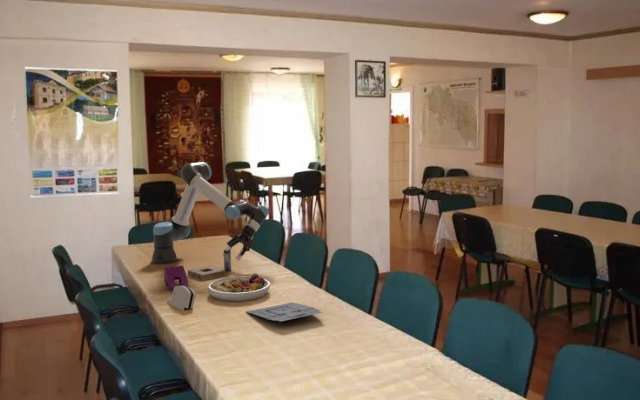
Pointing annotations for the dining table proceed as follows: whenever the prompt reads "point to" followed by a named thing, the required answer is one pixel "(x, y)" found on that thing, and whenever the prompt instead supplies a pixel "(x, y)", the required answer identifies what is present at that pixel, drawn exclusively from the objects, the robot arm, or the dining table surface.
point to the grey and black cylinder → (227, 260)
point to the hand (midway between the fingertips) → (230, 257)
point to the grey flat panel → (285, 311)
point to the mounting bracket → (175, 277)
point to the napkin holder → (182, 297)
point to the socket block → (206, 272)
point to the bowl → (239, 288)
